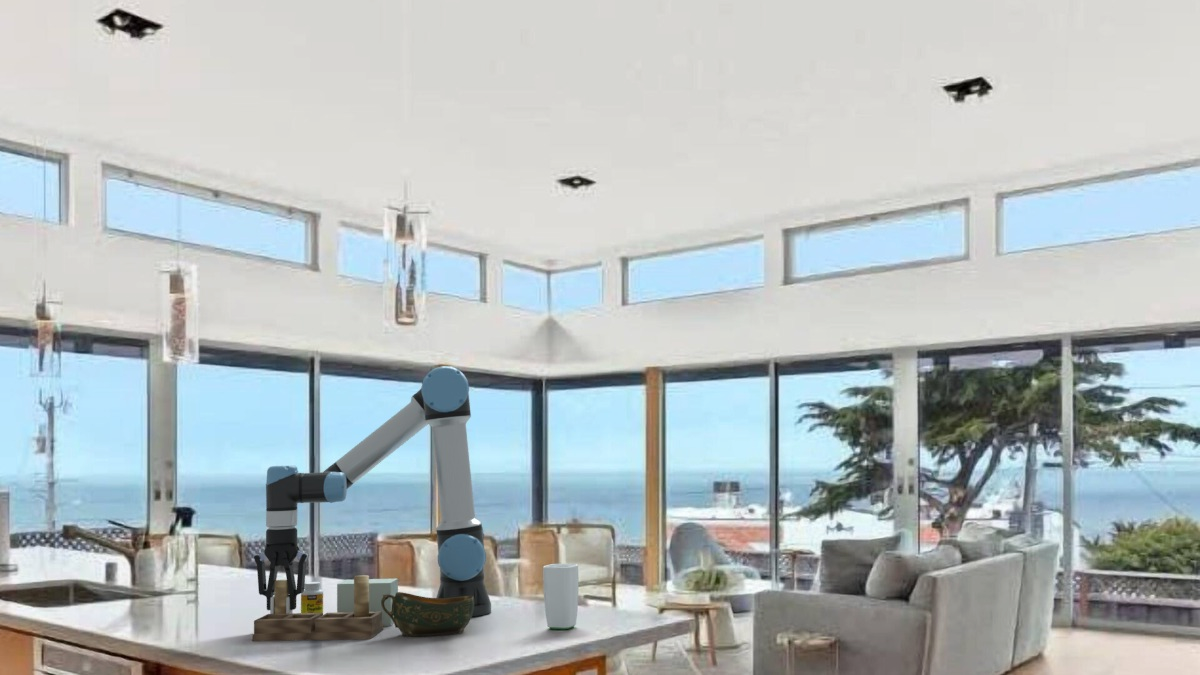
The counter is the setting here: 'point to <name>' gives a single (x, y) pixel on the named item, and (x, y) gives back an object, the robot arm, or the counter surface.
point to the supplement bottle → (312, 598)
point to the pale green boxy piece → (375, 596)
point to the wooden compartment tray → (324, 621)
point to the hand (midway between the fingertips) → (281, 623)
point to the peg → (280, 596)
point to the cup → (561, 595)
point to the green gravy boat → (429, 614)
